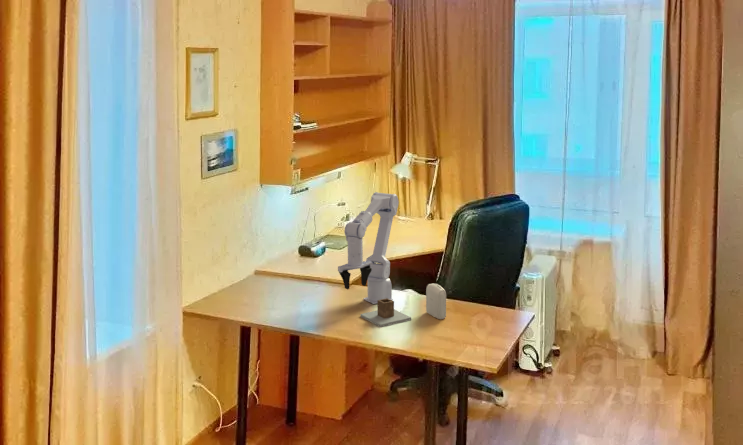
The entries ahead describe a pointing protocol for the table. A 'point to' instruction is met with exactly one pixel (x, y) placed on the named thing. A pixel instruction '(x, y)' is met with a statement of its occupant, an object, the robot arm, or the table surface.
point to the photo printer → (436, 301)
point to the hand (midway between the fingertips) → (355, 287)
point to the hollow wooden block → (385, 308)
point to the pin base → (381, 321)
